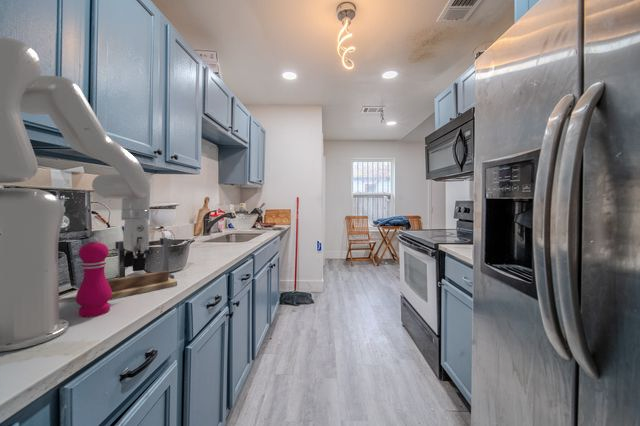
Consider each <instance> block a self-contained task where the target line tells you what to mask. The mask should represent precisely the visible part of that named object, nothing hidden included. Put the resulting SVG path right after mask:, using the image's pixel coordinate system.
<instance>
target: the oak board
mask: <svg viewBox="0 0 640 426" xmlns="http://www.w3.org/2000/svg"><path fill="white" fill-rule="evenodd" d="M176 286H178V281H177V280H176V279H174V278H173V279H171V278H169V277H168V281H164V282H159V283H154V284H148V285H143V286H138V287H133V288H127V289H122V290H117V291H112V297H111V298H110V299H109V300H114V299H119V298H122V297H123V298H124V297H128V296H134V295H138V294H143V293H148V292H152V291H158V290H162V289H167V288H172V287H176ZM109 300H108V301H109Z"/></svg>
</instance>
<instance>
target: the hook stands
mask: <svg viewBox="0 0 640 426" xmlns="http://www.w3.org/2000/svg"><path fill="white" fill-rule="evenodd" d="M114 243H115V244H114V248H115V249H114V250H116V251H117V268H118V269H117V276H118V277H117V278H123V277H126V267H124V251H125V249H124V247H123V240H121V241H115V242H114ZM159 246H162V247H161V248H162V249H161V251H162V253H161V255H162V256H161V257H162V259H161V261H162V265H161V266H162V270H161V271H168V277H169V278H171V279H173V280H174V279H175V275H174V274H172V273H170V272H169V269H170V268H169V266H170V265H169V263H170V262H169V258H170V257H169V247H172V238H168V237H160V238H159Z"/></svg>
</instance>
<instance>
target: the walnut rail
mask: <svg viewBox="0 0 640 426" xmlns="http://www.w3.org/2000/svg"><path fill="white" fill-rule="evenodd" d="M106 280H107V282H108V284H109V285H110V287H111V290H112V291H117V290H122V289H127V288H133V287H138V286H143V285H148V284H154V283H159V282H164V281H168V271H162V270H160V271H154V272H149V273H144V274H143V273H141V274H136V275H129V276H125V277H123V278H118V277H117V278H112V279H106Z"/></svg>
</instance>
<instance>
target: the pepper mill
mask: <svg viewBox="0 0 640 426" xmlns="http://www.w3.org/2000/svg"><path fill="white" fill-rule="evenodd" d="M88 240H89V243H85V244H84V245H82V246H81V247H80V249H78V250H79V251H78V257H79V259H80V260H82V262H81V269H83V278H82V281H81V284H80V286H79V288H78V290H77V292H76V295H75V302H76V303H77V304H78V305H79V306H80V307H79V308H78V316H79V317H80V318H93V317H98V316H101V315H104V314H106V313H108V312H110V310H111V307H110V306H111V303H110V302H108V301H109V299H110V298H111V297H112V290H111V287H110V285H109V284H108V282H107V280H108V279H107V278H106V274H105V267H106V266H107V260H106V258H107V257H108V256H109V253H110V252H109V251H110V249H109V248H108V246H107V245H106V244H104V243H102V242H99V238H98V237H97V236H91V237H90V238H89V239H88ZM110 300H111V299H110Z"/></svg>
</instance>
